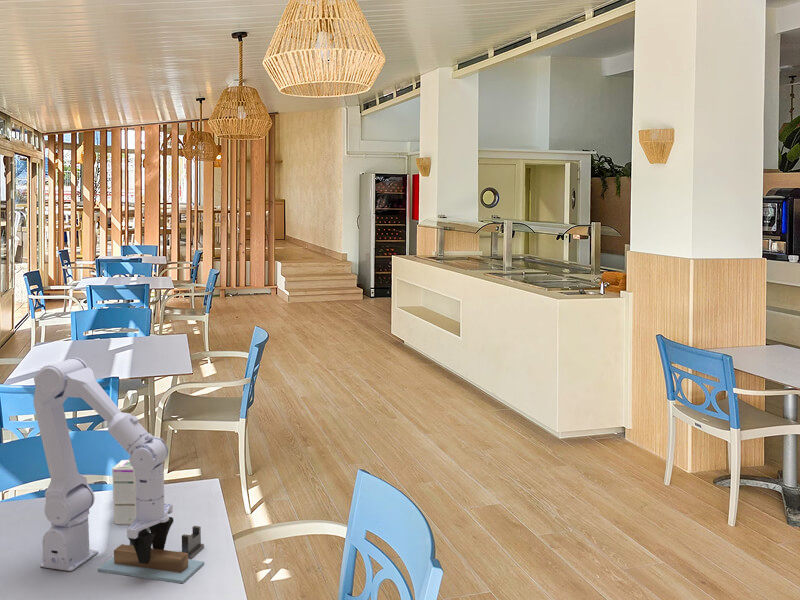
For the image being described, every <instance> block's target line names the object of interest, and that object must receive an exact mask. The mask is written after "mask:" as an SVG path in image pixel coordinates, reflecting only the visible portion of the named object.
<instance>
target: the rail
mask: <svg viewBox="0 0 800 600" xmlns="http://www.w3.org/2000/svg"><path fill="white" fill-rule="evenodd" d="M113 557H114V563H116V564H123V565H130V566H137V567H144V568H151V569H158V570H165V571H172V572H179V573H182V572H183V571H184V570H185V569H186V568H187V567H188V553H183V552H181V551H175V550H167V549H164V550H161V549H153V547H151V556H150V562H149V563H148V564H143V563H139V560H138V557H137V554H136V551H135V548H134V546H131V545H130V544H120V545H119V546H118V547H116V548H115V549H114V550H113Z"/></svg>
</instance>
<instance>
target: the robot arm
mask: <svg viewBox="0 0 800 600" xmlns="http://www.w3.org/2000/svg"><path fill="white" fill-rule="evenodd" d="M33 381H34V385H35V389H34V393H33V408H34V411H35V415H36V419H37V420H36V421H37V424H38V428H39V429H38V430H39V432H40V434H39V435H40V438H41V441H42V445H43V446H42V447H43V450H44V455H45V456H44V457H45V459H46V464H47V469H48V472H49V473H48V474H49V477H50V482H49V484H48V486H47V488H46V490H45V493H44V498H45V504H44V516H45V518H46V519H47V520H48V522H50V525H51V526H50V528H49V529H48V530H47V531H46V532H45V533H44V535H43V536H42V542H41V543H42V562H41V563H40V564H39V567H42V568H46V569H47V568H48V569H53V570H54V569H55V570H60V571H65V572H67V571H68V572H72V571H75V570H76V569H77V568H78V567H80V566H81V565H83V564H85V562H87V561H88V560H90V559H91V558H93V557H94V556H96V555H97V554H98V553H99V551H98V550H97V549H90V530H89V529H90V526H89V525H90V524H89V515H90V509H91V508H92V507H93V505H94V503H95V499H96V498H95V493H94V491H93V488H91V487H90V485H89V483H88V478H87V477H85V475H83V474H80V473H79V471H78V467H77V463H76V458H75V454H74V449H73V446H72V439H71V437H70V430H69V427H68V422H67V418H66V417H67V416H66V414H65V409H64V403H65V401H66V400H67V399H68V398H76V399H77V398H80V399H82V401H84V402H85V403H86V404H87V405H88V406H89V407H90V408H91V409H93V410H94V411H95V412H96V413H97V414H98V415H99V416H100V417H101V418H103V420H104V421H105V422H107V424H108V429H107V430H108V433H109V434H110V435H111V437H113V438H114V440H115V441H116V442H117V443H118V444H119V445H120V446H121V447H122V448H123V449H124V451H125V452H126V453H127V454H128V455H130V457H129V458H128V460H129V461H130V464H131V466H132V467H133V469H134V471H135V477H136V517H135V519H134V521H133V522H132V524H130V525H129V527H128V528H127V529H126V538H127V539H128V541H129V542H130V541H131V543H132V544H133V546H134V548H135V551H136V554H137V557H138V560H139V563H143V564H148V563H149V562H150V556H151V548H153V549H161V550H165V546H166V542H167V538H168V534H169V532H170V529H171V527H172V524H173V523H174V517H171V516H169V515H170V514H172V513H173V512H174V511H173V504H172V503H167V502H165V472H164V470H165V469H164V462H165V461H166V460H167V457H168V455H169V448H168V445H167V443H166V442H165V440H164V439H163V438H162V437H158V436H154V435H153V434H152V433H149V431H147V430H146V429H145V427H143V425H142V424H141V423H140V422H139V420H140V419H139V418H138V417H137V415H133V414H132V413H131V412H130V413H129V412H122V411H121V409H120V408H119V407H118V406H117V404H115V402H114V401H113V399H111V397H110V396H109V395H108V394H107V392H106V391H105V390H104V389H103V387H102V386H101V385H100V384H99V383H98V381H97V379H96V378H95V374H94V371H93V369H92V368H90V367H89V366H88V365H87V363H86V362H85V361H84V360H83V359H81V358H79V357H76V356H75V357H70V358H67V359H66V360H62V361H59V362H57V363H52V364H48V365H45V366H43V367H42V368H40V369H39V371H38V372H37V373H36V374H35V375H34V377H33ZM148 527H149V529H150V533H148V531H147V528H148Z"/></svg>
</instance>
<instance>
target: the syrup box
mask: <svg viewBox="0 0 800 600" xmlns="http://www.w3.org/2000/svg"><path fill="white" fill-rule="evenodd" d="M111 471H112V473H111V475H112V492H113V494H112V495H113V497H112V498H113V517H114V524H115V525H131V524H132V522H133V521H134V519H135V517H136V477H135V471H134V469H133V467H132V466H131V464H130V461H129V459H121V460H120V461H119V462H118V463H117V464H115V466H113V467H112V468H111Z"/></svg>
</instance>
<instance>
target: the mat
mask: <svg viewBox="0 0 800 600" xmlns="http://www.w3.org/2000/svg"><path fill="white" fill-rule="evenodd" d="M204 565H205V561H201V560H195V559H188V567H187V568H186V569H185V570H184V571H183V572H182V573H179V572H172V571H165V570H158V569H151V568H144V567H137V566H130V565H123V564H116V563H114V556H113V557H112V558H110V559H109V560H108V561H106V562H105V563H103V564H102V565H100V566H99V567H98V568H97V571H98V572H102V573H109V574H115V575H122V576H130V577H136V578H144V579H148V580H149V579H150V580H156V581H163V582H171V583H177V584H184V583H185V582H186V581H188V579H190V578H191V577H192V576H193V575H194V574H195V573H196V572H198V570H200V569H201V568H202V567H203V566H204Z"/></svg>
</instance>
